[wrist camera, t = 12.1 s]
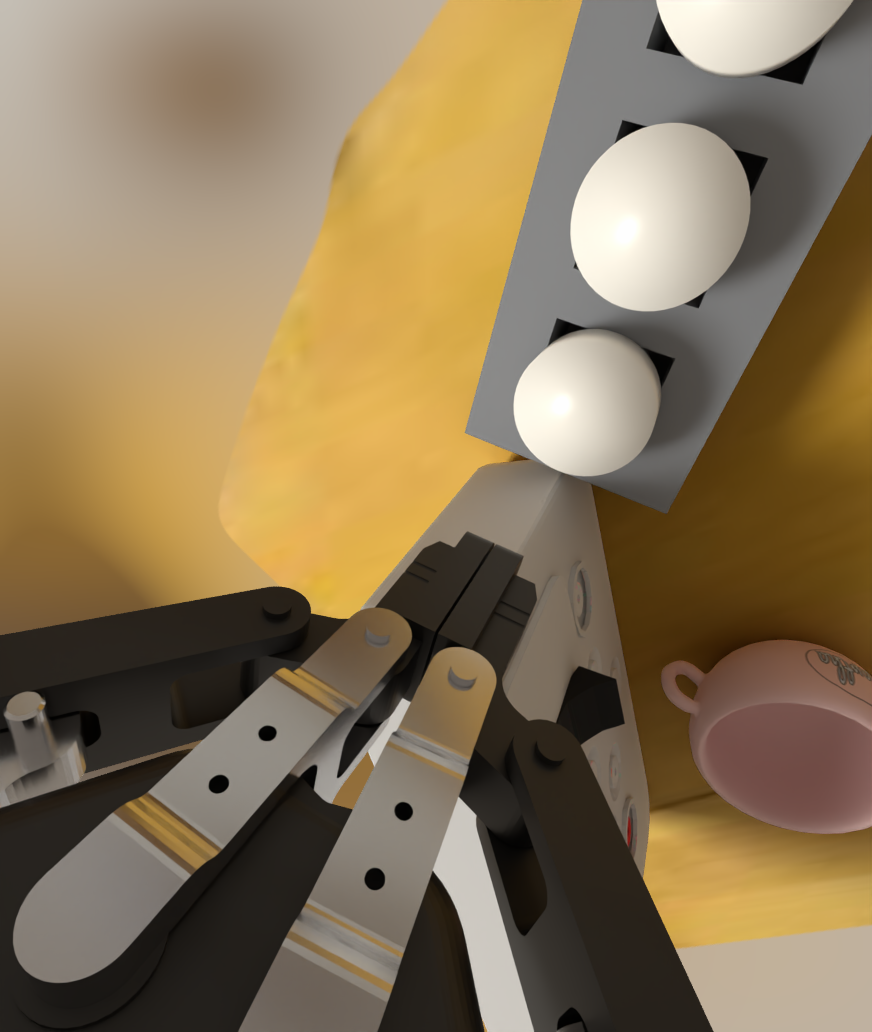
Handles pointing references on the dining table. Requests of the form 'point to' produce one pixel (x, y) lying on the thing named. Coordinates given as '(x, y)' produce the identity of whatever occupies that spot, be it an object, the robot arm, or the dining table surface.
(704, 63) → the knob
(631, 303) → the knob
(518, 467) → the rounded white slab
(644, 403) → the knob
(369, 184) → the dining table surface
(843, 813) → the mug
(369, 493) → the dining table surface
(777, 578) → the dining table surface
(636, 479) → the mount
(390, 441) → the dining table surface
